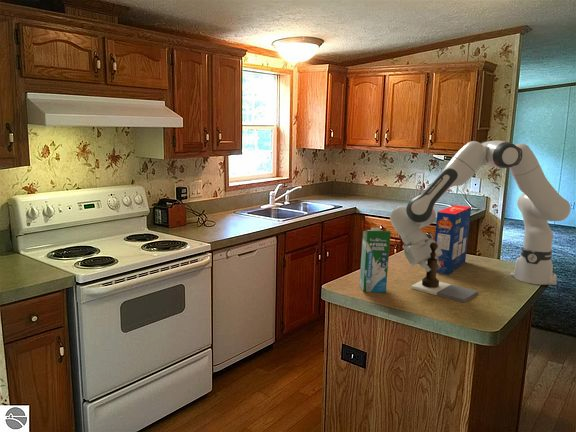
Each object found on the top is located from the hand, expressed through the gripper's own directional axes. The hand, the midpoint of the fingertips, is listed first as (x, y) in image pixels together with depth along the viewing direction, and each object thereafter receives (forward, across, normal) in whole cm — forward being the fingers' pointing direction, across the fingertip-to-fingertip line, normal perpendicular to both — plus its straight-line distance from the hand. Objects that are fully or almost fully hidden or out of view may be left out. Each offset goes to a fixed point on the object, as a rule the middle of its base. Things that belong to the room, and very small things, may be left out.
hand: (434, 269), depth 194 cm
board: (+9, +1, +2) cm, 9 cm away
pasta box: (-3, +36, +15) cm, 39 cm away
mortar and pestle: (+4, -1, +5) cm, 7 cm away
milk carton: (-5, -21, +16) cm, 27 cm away
